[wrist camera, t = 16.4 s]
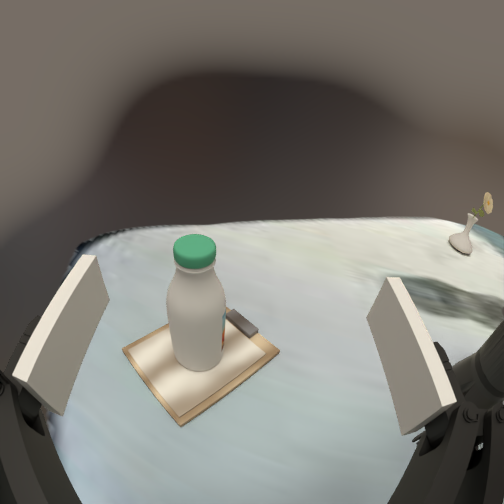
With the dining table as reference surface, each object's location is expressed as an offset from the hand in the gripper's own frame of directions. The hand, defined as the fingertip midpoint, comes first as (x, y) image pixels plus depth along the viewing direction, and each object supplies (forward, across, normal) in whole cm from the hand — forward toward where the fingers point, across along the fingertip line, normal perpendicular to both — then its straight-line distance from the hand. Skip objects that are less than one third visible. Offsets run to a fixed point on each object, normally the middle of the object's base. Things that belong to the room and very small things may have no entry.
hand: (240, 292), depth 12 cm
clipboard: (+15, -5, -29) cm, 33 cm away
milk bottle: (+15, -5, -28) cm, 33 cm away
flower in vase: (+59, +83, -31) cm, 107 cm away
